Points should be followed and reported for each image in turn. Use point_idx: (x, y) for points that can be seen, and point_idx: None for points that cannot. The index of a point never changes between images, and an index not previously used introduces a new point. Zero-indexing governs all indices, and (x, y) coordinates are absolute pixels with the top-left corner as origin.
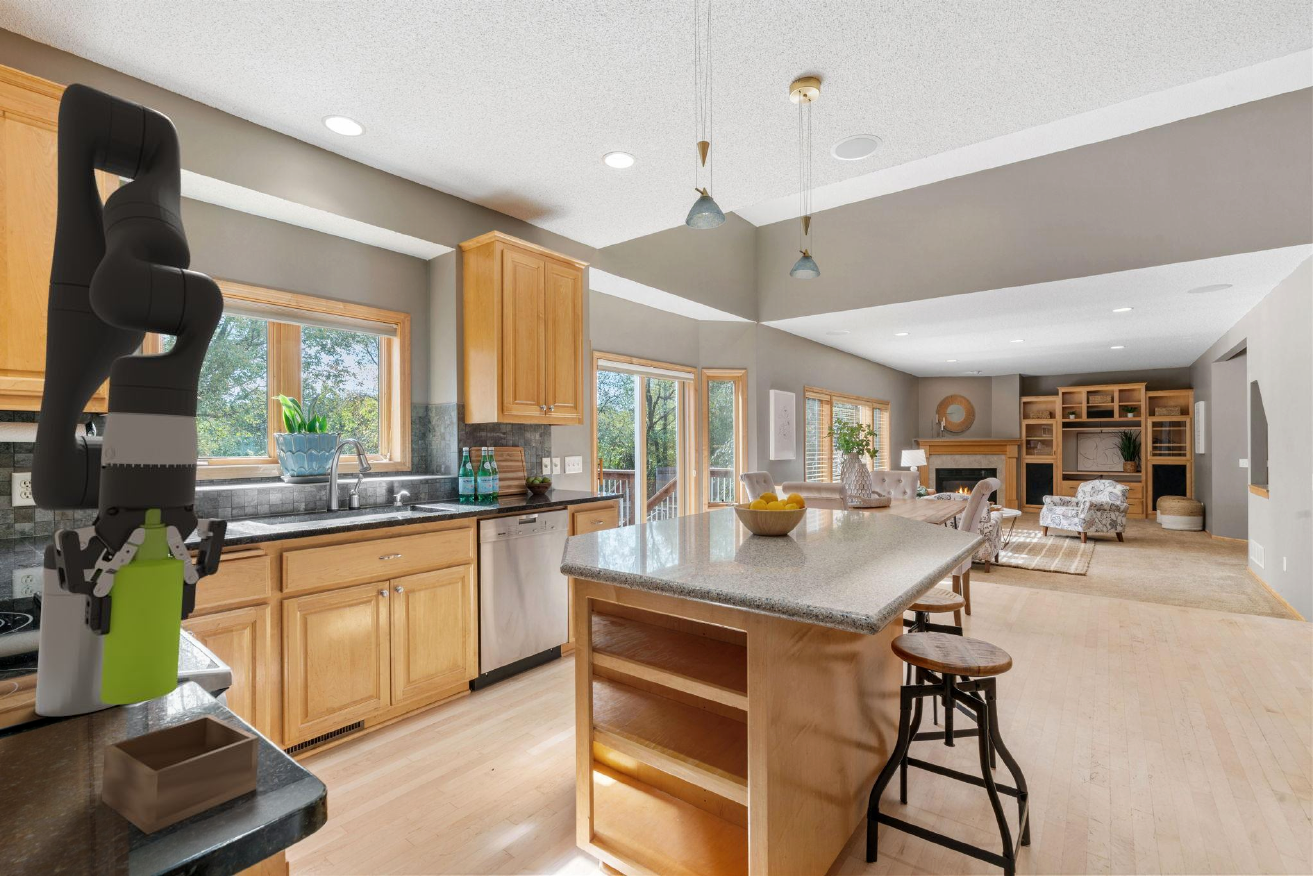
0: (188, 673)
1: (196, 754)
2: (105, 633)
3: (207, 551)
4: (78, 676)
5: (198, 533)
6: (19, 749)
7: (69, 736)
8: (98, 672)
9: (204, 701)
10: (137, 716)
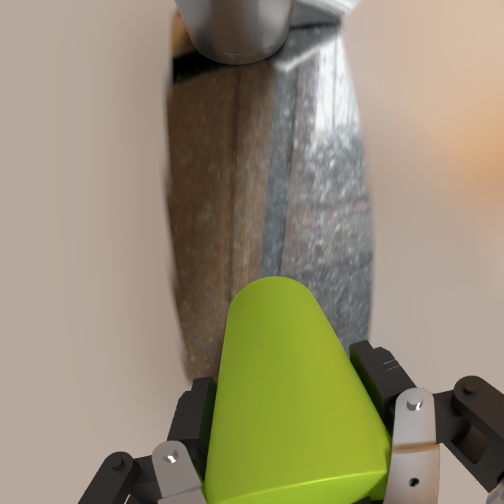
0: (343, 8)
1: None
2: None
3: (473, 467)
4: (219, 40)
5: (498, 500)
6: (171, 138)
7: (214, 128)
8: (243, 39)
9: (355, 114)
10: (284, 109)
